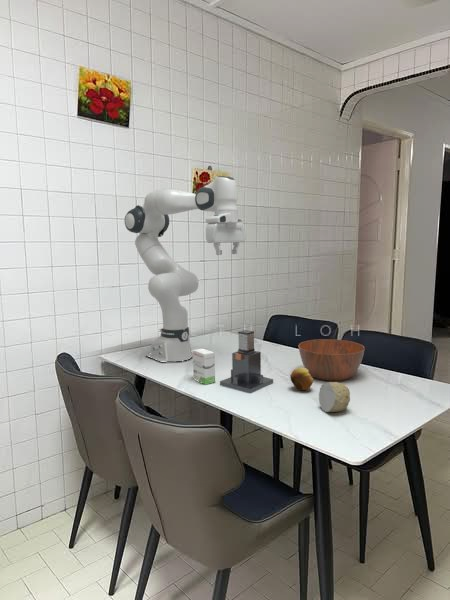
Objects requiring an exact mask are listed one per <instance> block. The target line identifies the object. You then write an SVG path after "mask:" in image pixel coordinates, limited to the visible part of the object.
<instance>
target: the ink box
mask: <svg viewBox="0 0 450 600" xmlns="http://www.w3.org/2000/svg"><path fill="white" fill-rule="evenodd" d="M215 362H216V360H215V352H213V351H210V350H207V349H206V348H197V349H192V374H193V375H192V376H193V378H194V379H196V380H198V381H199V382H198V381H197V382H198V383H200V382H202V383H204V384H207V385H210V384H209V383H211V384H214V383H213V382H215V383H216V368H215V367H216V366H215V365H216V363H215ZM202 383H201V384H202ZM204 384H203V385H204Z"/></svg>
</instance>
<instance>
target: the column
mask: <svg viewBox="0 0 450 600" xmlns="http://www.w3.org/2000/svg"><path fill="white" fill-rule="evenodd" d="M237 334H238V349H237V351H239V353H240V354H244V355H250V354H253V353H254V351H255V331H254V330H249V329H244V330H241V331H240V330H239V331H237Z"/></svg>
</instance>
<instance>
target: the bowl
mask: <svg viewBox="0 0 450 600" xmlns="http://www.w3.org/2000/svg"><path fill="white" fill-rule="evenodd" d="M297 346H298V350H299V355H300V358H301V362H302V364H303V366H304V367H303V368H306V369H308V371H309V374H310V375H311V377H312V378H316V379H318V380H322V381H327V382H328V381H329V382H340V381H345V380H348V379H351V378H353V376H355V375H356V374H357V372H358V370H359V368H360V367H361V364H362V360H363V357H364V354H365V346H364V345H363V344H360V343H358V342H355V341H349V340H345V339H335V338H334V339H332V338H331V339H330V338H329V339H328V338H326V339H325V338H324V339H323V338H319V339H310V340H306V341H305V340H304V341H302V342H299V344H298V345H297Z"/></svg>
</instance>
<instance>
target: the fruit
mask: <svg viewBox="0 0 450 600" xmlns="http://www.w3.org/2000/svg"><path fill="white" fill-rule="evenodd" d="M289 378H290V381H291V383H292V385H293V386H294V387H295V388H296V389H298V390H299V391H300V392H301V391H302V392H304V391H307V390H309V389H310V388H311V387H312V385H313V382H314V377H313V376H311V375H310V374H309V371H308V369H306V368H305V367H303V366H301V367H297V368H295V369H294V370H293V371H292V372H291V374H290V377H289Z"/></svg>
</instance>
